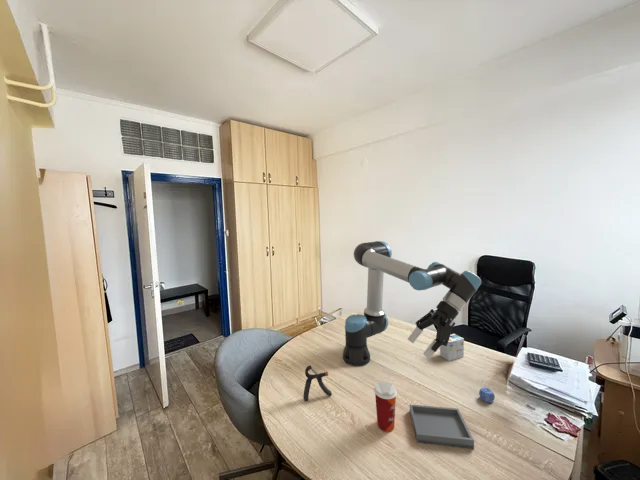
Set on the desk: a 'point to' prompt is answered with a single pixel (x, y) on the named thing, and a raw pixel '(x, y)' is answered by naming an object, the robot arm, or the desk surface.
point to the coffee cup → (385, 405)
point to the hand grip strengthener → (319, 379)
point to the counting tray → (440, 426)
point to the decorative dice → (486, 394)
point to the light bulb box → (453, 348)
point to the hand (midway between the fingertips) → (417, 348)
